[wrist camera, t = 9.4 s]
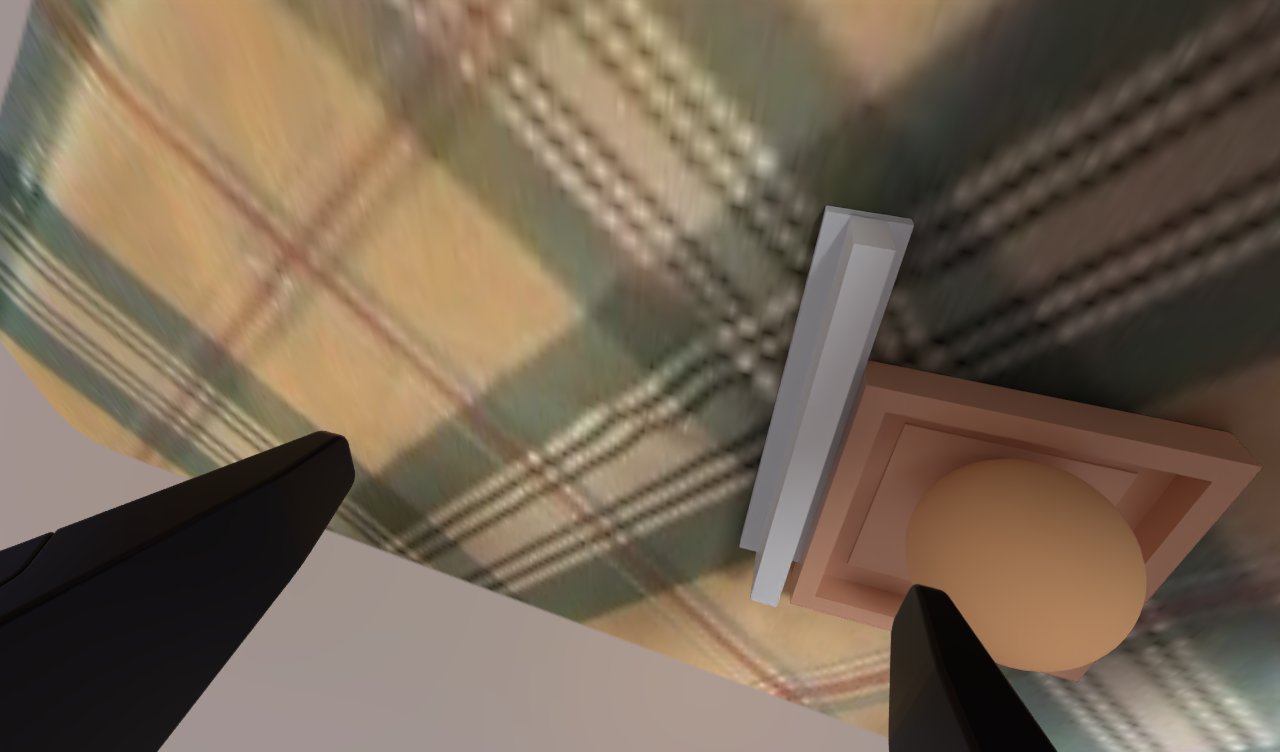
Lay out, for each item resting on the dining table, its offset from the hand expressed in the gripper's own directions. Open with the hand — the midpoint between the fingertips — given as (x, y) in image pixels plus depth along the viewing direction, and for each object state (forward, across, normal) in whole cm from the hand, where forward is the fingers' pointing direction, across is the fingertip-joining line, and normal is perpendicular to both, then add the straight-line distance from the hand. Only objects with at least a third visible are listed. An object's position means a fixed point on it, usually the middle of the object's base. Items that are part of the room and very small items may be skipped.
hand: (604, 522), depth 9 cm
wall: (+12, -4, +5) cm, 14 cm away
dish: (+12, -10, +8) cm, 18 cm away
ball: (+8, -10, +6) cm, 15 cm away
